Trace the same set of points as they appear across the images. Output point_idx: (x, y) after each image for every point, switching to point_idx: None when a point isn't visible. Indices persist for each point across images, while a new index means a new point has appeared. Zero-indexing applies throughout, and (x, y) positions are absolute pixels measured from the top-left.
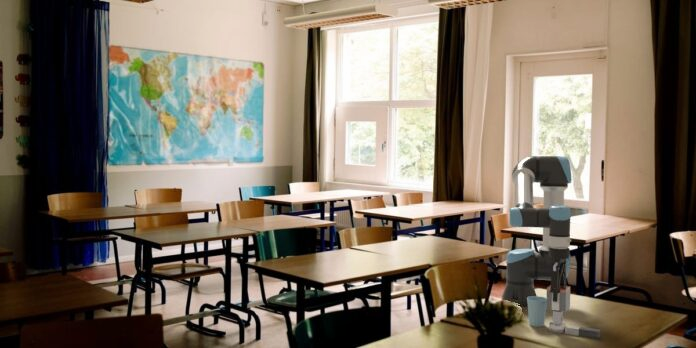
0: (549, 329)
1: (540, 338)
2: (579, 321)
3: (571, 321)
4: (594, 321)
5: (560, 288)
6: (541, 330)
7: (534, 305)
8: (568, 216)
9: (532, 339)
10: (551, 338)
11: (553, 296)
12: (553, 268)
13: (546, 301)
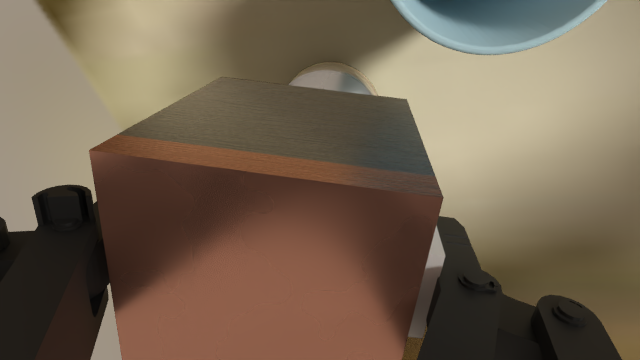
0: (312, 66)
1: (138, 34)
2: (615, 213)
3: (606, 170)
4: (631, 285)
5: (189, 335)
6: (311, 10)
7: None
8: None
9: None
10: (175, 96)
11: (94, 209)
12: None
13: (454, 47)
